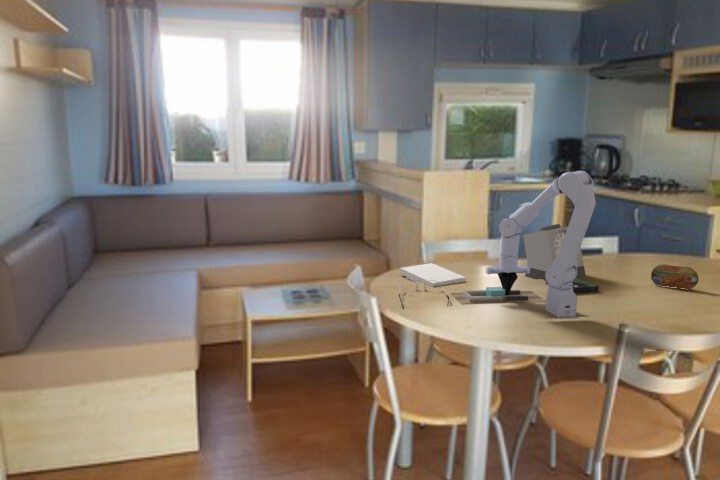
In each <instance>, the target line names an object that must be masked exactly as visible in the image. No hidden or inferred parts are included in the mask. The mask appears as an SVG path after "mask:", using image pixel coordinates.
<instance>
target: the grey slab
mask: <svg viewBox="0 0 720 480" xmlns="http://www.w3.org/2000/svg"><path fill="white" fill-rule="evenodd" d="M461 293H462V295H463V296H464V297H465V298H466V299H467V300H468V301H469V302H477V301H502V296H501V295H499V296H475V295H486V289H473V290H472V289H471V290H462V292H461Z"/></svg>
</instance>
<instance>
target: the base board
mask: <svg viewBox="0 0 720 480" xmlns="http://www.w3.org/2000/svg"><path fill="white" fill-rule="evenodd" d="M450 295H451V296H452V297H453V298H454V299H455V300H456V301H457V302H458V303H459V304H461V305H462V306H463V305H488V304H490V305H492V304H495V305H496V304H524V303H525V304H528V303H529V304H531V303H546V301H547V300H545V299H543V298H542V297H541V296H539V295H538V294H537V293H535V292H534V291H532V290H520V294H513V295H505V299H502V301H477V302H469V301H468V300H467V299H466V298H465V297H464V296H463V295H462V292H450ZM475 296H486V295H475ZM507 296H528V300H512V301H508V300H507ZM461 305H460V306H461Z"/></svg>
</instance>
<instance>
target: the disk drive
mask: <svg viewBox="0 0 720 480" xmlns="http://www.w3.org/2000/svg"><path fill="white" fill-rule="evenodd" d="M572 283H573V292H574V293H575V294H576V295H577V294H578V295H579V294H588V293H589V294H590V293H598V292H599V287H600V285H598V284H595V283H593V282H590V281H587V280H584V279H582V278H576V279H574V280H573V281H572ZM545 284H546V285H547V286H548V282H547V281H545Z"/></svg>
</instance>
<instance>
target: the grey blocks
mask: <svg viewBox="0 0 720 480" xmlns="http://www.w3.org/2000/svg"><path fill="white" fill-rule="evenodd" d="M520 291H521V290H520V289H511V290H510V293H509V295H513V294H520ZM507 300H508V301H512V300H528V296H507Z"/></svg>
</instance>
